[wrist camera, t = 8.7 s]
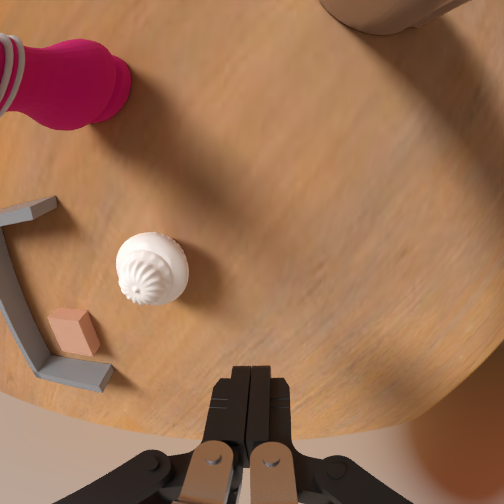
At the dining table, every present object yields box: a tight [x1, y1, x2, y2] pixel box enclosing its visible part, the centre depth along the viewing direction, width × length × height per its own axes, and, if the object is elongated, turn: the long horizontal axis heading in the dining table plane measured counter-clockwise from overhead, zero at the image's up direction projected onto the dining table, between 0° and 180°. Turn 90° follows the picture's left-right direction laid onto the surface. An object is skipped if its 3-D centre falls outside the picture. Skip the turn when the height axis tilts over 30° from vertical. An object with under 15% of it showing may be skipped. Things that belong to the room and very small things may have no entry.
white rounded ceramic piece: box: [116, 232, 189, 306], centre depth 22 cm, size 6×6×7 cm
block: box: [47, 308, 101, 356], centre depth 29 cm, size 5×5×2 cm
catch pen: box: [0, 196, 114, 393], centre depth 27 cm, size 12×22×4 cm, turn 4°
